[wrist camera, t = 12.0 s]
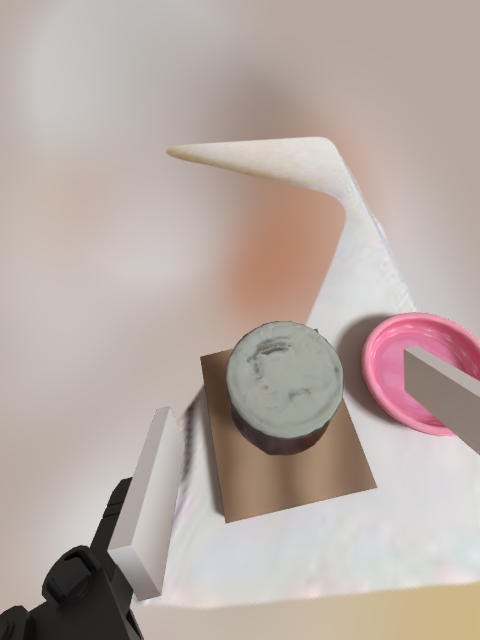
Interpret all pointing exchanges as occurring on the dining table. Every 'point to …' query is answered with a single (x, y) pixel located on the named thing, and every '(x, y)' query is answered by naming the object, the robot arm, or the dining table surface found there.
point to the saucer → (388, 363)
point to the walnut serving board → (279, 459)
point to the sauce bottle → (283, 387)
